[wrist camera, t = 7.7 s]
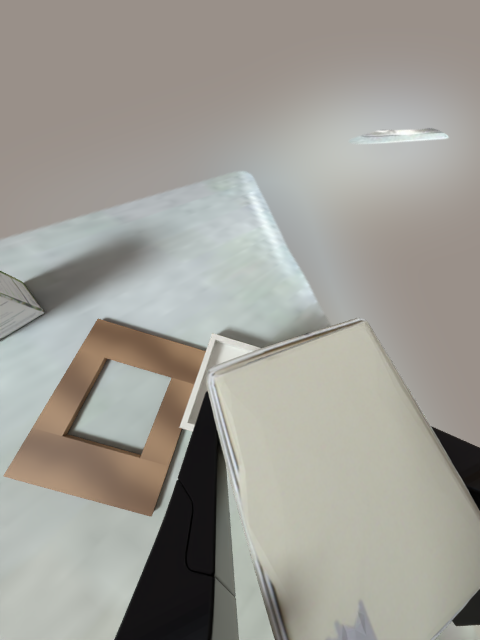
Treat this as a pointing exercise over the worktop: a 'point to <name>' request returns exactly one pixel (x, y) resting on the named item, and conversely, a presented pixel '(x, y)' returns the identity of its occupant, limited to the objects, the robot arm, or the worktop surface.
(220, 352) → the white tray
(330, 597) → the box
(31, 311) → the syrup box
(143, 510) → the walnut frame
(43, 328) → the worktop surface
